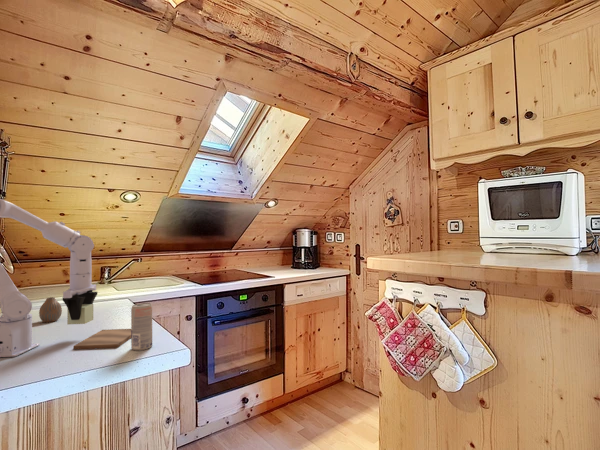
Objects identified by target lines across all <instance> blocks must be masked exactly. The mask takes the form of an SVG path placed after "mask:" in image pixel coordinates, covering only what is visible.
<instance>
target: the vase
mask: <svg viewBox="0 0 600 450" xmlns="http://www.w3.org/2000/svg"><path fill="white" fill-rule="evenodd" d="M62 311H63V309H62V305H61V303H60V302H58V300H57V299H56V297H51V296H50V297H46V299H45V301H44V302H43V303H42V304H41V305H40V307H39V311H38V314H39V315H38V316H39V319H40V321H42V322H43V323H53V322H57V321H58V320H59V319H60V318H61V316H62V313H63V312H62Z"/></svg>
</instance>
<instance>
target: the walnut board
mask: <svg viewBox="0 0 600 450" xmlns="http://www.w3.org/2000/svg"><path fill="white" fill-rule="evenodd" d="M130 339H131V328H116V329H113V328H111V329H101V330H100V331H97V332H96V333H94V334H92V335H90V336H88V337H87V338H85V339H83V340H81V341H80V342H78V343H76V344H74V345H73V348H72V349H73V350H92V349H95V348H97V349H116V348H117V349H118V348H120V347H121V346H122V345H123V344H125V343H127V342H128V341H129V340H130ZM95 350H96V349H95Z"/></svg>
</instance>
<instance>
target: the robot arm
mask: <svg viewBox="0 0 600 450" xmlns="http://www.w3.org/2000/svg"><path fill="white" fill-rule="evenodd" d="M0 218H4V219H5V218H6V219H13V220H15V221H17V222H19V223H21V224H23V225H26V226H28V227H31V228H33V229H35V230H38V231H39V232H41V234H42V237H43V238H44V239H46V240H48V241H49V242H52V243H53V244H56V245H58V246H60V247H63V248H65V249H66V248H67V249H68V250H69V251H70V259H69V288H68V289H67V290H64V291H63V292H62V301H63V303H64V304H65V305H66V309H67V310H69V313H70V317H71V320H79V319H80V316H81V308H82V304H93V303H94V301H95V299H96V297H97V296H98V291H97V284H93V283H92V280H93V279H92V278H93V277H92V274H93V273H92V269H93V268H92V267H93V266H92V265H93V264H92V263H93V260H92V251H93V249H94V247H95V243H94V241H93V240H92V238H91V237H89V236H88V235H82V234H81V233H82V232H81V231H80V230H74V229H73V228H72V229H71V228H70V227H68V226H66V223H65V222H63V221H59V222H58V221H57V220H56V221H51V222H50V221H49V222H48V221H46V220H44V219H42V218H40V217H38V216H37V215H34V214H33V213H31V212H29V211H28V210H26V209H23V208H22V207H21V206H19V205H16V204H14V203H12V202H10V201H8V200H5V199H2V198H0ZM93 305H94V304H93ZM32 308H33V304H32V301H31V300H30V299H29V298H28V297H27V295H25V294H23V293H22V292H20V290H19V289H18V288H17V286H16V285H15V284H14V281H13V280H12V279H11V277H10V276H9V274H8V273H7V270H6V269H5V267H4V265H2V263H1V262H0V310H1V313H2V315H1V316H0V358H9V357H11V358H12V357H13V358H14V357H17V356H19V355H21V354H24V353H26V352H28V351H30V350H32V349H34V348H36V347H37V348H38V346H40V345H41V344H40V343H39V342H38V343H33V314H32V313H31V311H32Z"/></svg>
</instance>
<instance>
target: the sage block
mask: <svg viewBox="0 0 600 450" xmlns="http://www.w3.org/2000/svg"><path fill="white" fill-rule="evenodd" d="M91 321H94V304H82V308H81V316H80V319H79V320H71V317H70V313H69V310H68V309H67V325H86V324H87V323H89V322H91Z"/></svg>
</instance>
